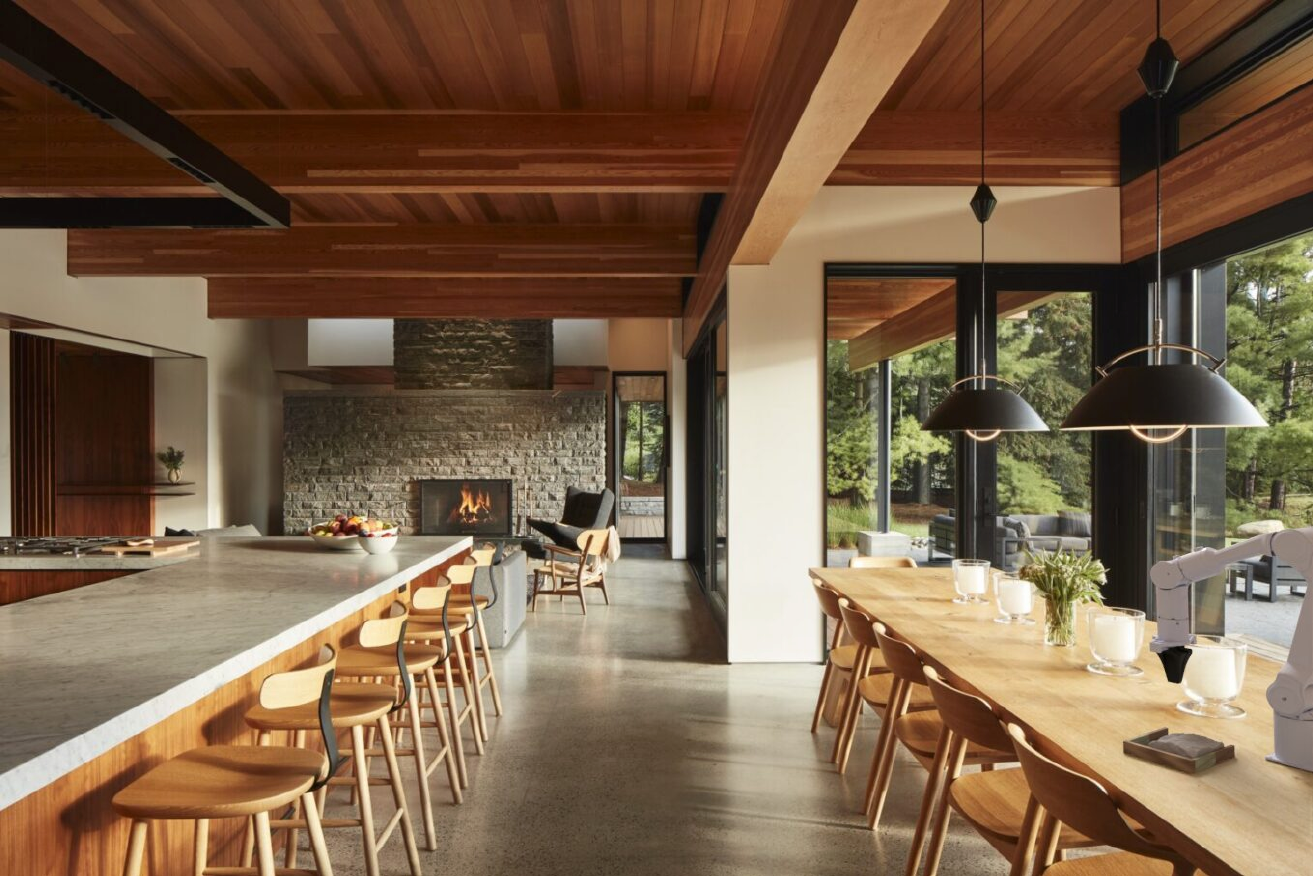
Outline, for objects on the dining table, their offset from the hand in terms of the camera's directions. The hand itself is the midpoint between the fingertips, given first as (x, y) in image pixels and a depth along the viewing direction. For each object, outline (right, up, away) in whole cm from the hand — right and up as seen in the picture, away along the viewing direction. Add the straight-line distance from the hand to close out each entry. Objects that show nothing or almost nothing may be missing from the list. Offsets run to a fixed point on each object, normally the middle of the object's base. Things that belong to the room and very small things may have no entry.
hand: (1174, 682), depth 175 cm
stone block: (-8, -10, -15) cm, 20 cm away
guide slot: (-8, -10, -14) cm, 19 cm away
